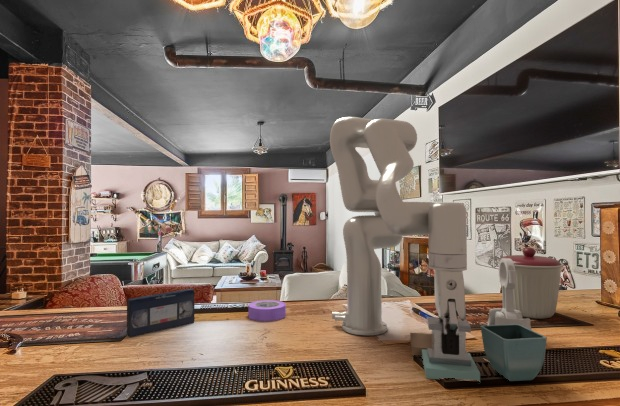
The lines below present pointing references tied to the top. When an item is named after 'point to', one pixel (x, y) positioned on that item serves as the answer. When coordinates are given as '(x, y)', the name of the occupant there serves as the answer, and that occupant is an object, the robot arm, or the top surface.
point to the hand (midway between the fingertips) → (448, 347)
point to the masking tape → (266, 310)
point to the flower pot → (514, 350)
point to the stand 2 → (449, 369)
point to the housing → (436, 350)
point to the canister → (535, 284)
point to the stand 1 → (420, 342)
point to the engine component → (507, 298)
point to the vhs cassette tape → (160, 312)
